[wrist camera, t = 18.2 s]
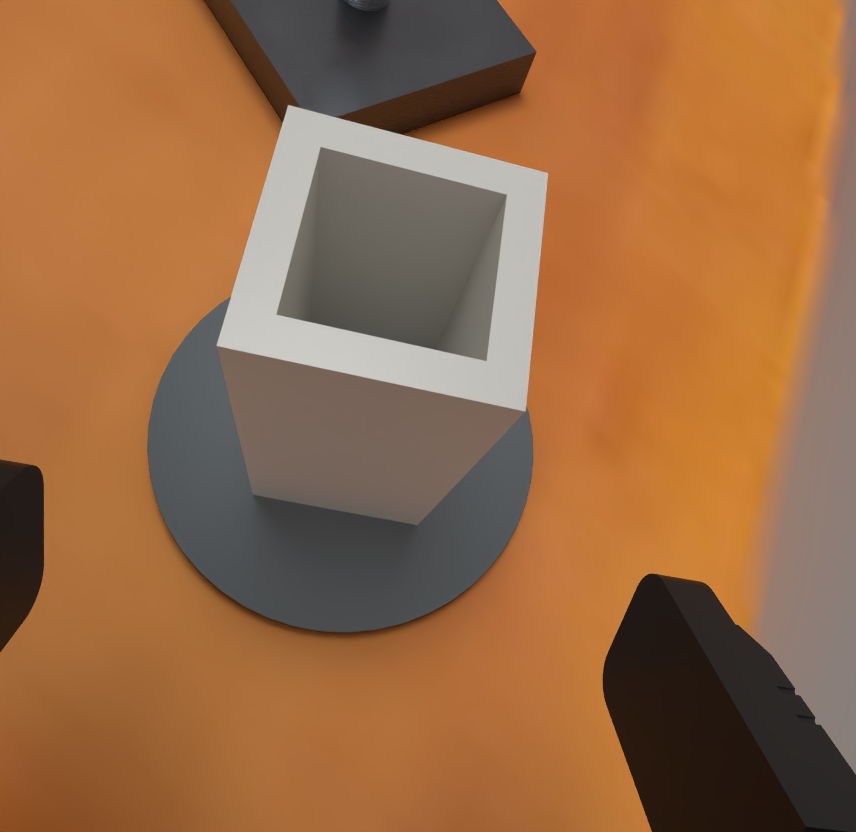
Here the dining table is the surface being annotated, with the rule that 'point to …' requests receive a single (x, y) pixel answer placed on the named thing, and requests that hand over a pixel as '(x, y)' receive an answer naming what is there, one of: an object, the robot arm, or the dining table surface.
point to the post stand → (378, 56)
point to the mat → (315, 515)
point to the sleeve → (380, 317)
